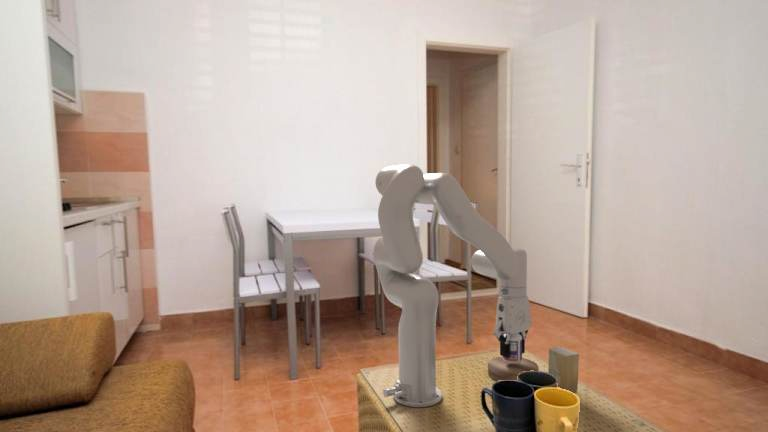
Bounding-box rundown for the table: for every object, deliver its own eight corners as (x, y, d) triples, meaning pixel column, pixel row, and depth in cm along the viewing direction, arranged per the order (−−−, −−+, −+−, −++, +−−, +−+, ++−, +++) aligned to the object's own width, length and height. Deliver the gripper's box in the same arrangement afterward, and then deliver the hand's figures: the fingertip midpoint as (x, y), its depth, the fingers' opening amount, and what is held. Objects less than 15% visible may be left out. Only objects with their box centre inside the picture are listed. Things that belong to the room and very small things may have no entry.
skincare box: (547, 394, 122) (547, 348, 121) (559, 390, 123) (559, 345, 123) (566, 404, 116) (566, 355, 115) (578, 400, 118) (579, 353, 117)
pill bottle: (512, 355, 138) (512, 323, 137) (526, 361, 133) (526, 328, 132) (498, 359, 135) (498, 326, 134) (512, 365, 130) (512, 331, 130)
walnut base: (516, 389, 124) (516, 378, 124) (477, 373, 136) (477, 362, 136) (548, 377, 132) (548, 366, 132) (510, 362, 144) (510, 353, 144)
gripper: (502, 298, 125) (502, 364, 126) (542, 290, 135) (542, 351, 135) (481, 293, 131) (481, 356, 132) (521, 285, 141) (521, 345, 142)
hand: (512, 353), depth 134 cm, fingers closed on pill bottle, 5 cm apart
